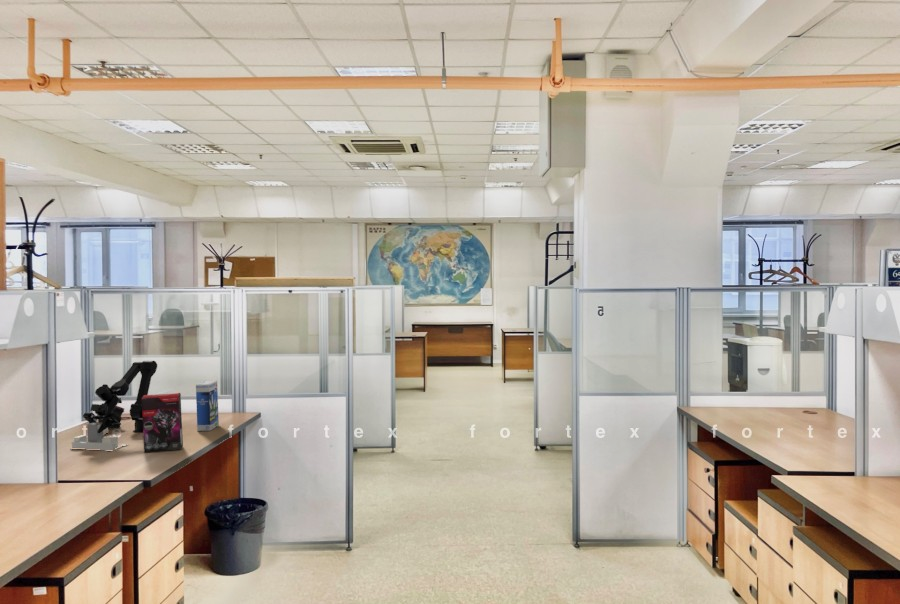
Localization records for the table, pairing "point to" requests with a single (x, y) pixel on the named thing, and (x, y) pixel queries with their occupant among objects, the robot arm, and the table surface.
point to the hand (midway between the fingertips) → (93, 432)
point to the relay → (105, 431)
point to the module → (94, 432)
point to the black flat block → (119, 412)
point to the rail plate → (106, 444)
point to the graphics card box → (162, 422)
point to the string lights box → (207, 405)
